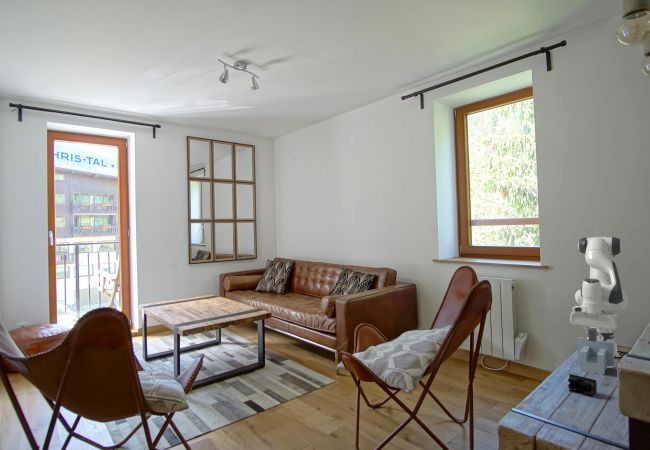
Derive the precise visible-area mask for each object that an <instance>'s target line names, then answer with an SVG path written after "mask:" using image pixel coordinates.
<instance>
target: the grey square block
mask: <svg viewBox="0 0 650 450" xmlns="http://www.w3.org/2000/svg"><path fill="white" fill-rule="evenodd" d="M578 362H580V363H579V364H580V371H581V372H587V373H591V372H592V373H591V374H595V373H597V375H600V374H604V373H605V374H606V372H605V370H606V367H607V366H613V365H614V366H615V358H614V343H613V342H607V341H601V340H597V341H596V342H594V341H589V339H588V337H580V336H578V337H577V363H578ZM606 371H607V370H606ZM605 374H604V375H605Z"/></svg>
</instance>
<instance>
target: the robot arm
mask: <svg viewBox="0 0 650 450" xmlns="http://www.w3.org/2000/svg"><path fill="white" fill-rule="evenodd" d="M623 246H624V245H623V241H622V240H621V239H620V238H618V237H614V236H612V237H611V236H592V237H587V236H586V237H582V238H580V239H579V240H578V243H577V248H578V251H579V253H581V254H584V257H585V262H586V264H587V265H588V266H589V278H585V279H584V280H583V281H582V286H581V287H580V289H578V290H577V291H576V292H575V294H574V299H575V302H576V303H577V304H578V305H574V306H573V307H572V308H571V309H572V312H571V313H570V314H569V315H570V316H569V323H570V324H571V325H574V326H583V327H582V328H583V329H584V331H585V334H586V336H587V335H588V336H587V338H588V339H589V329H587V327H589V328H590V327H591V328H597V332H596V336H597V340H601V341H607V342H613V343H614V353H617V351H619V349H618V345H617V344H618V343H617V342H616V341H615V339H614V338H615V335H614V330H615V331H616V330H617V329H618V327H617V320H618V315H617V313H615V312H614V311H609V310H624V309H625V308H626V307H628V302H629V299H628V298H627V296H626V294H625V291H624V290H623V287H622V285H621V280H620V274H619V272H618V268H617V264H616V262H615V261H613V260H612V257H613V258H615V257H616V256H618V255H619V254H620V253H621V252H622V250H623ZM611 256H612V257H611ZM605 309H606V310H605Z"/></svg>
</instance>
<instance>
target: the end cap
mask: <svg viewBox="0 0 650 450" xmlns="http://www.w3.org/2000/svg"><path fill="white" fill-rule="evenodd" d="M568 375H569V376H568V377H569V378H568V379H567V382H568V383H569V384H568V385H567V387H568V392H570V393H573V394H578V395H581V396H586V397H589V398H593V397H594V396H595V394H597V390H598V383H597V382H598V381H597V380H596V379H593V378H589V377H584V376H581V375H575V374H572V373H570V374H568Z"/></svg>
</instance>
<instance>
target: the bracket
mask: <svg viewBox="0 0 650 450" xmlns="http://www.w3.org/2000/svg"><path fill="white" fill-rule="evenodd" d="M588 331H589V335H588V337H589V341H594V342H596V341H597V336H596V332H597V328H591V327H589V328H588Z"/></svg>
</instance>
